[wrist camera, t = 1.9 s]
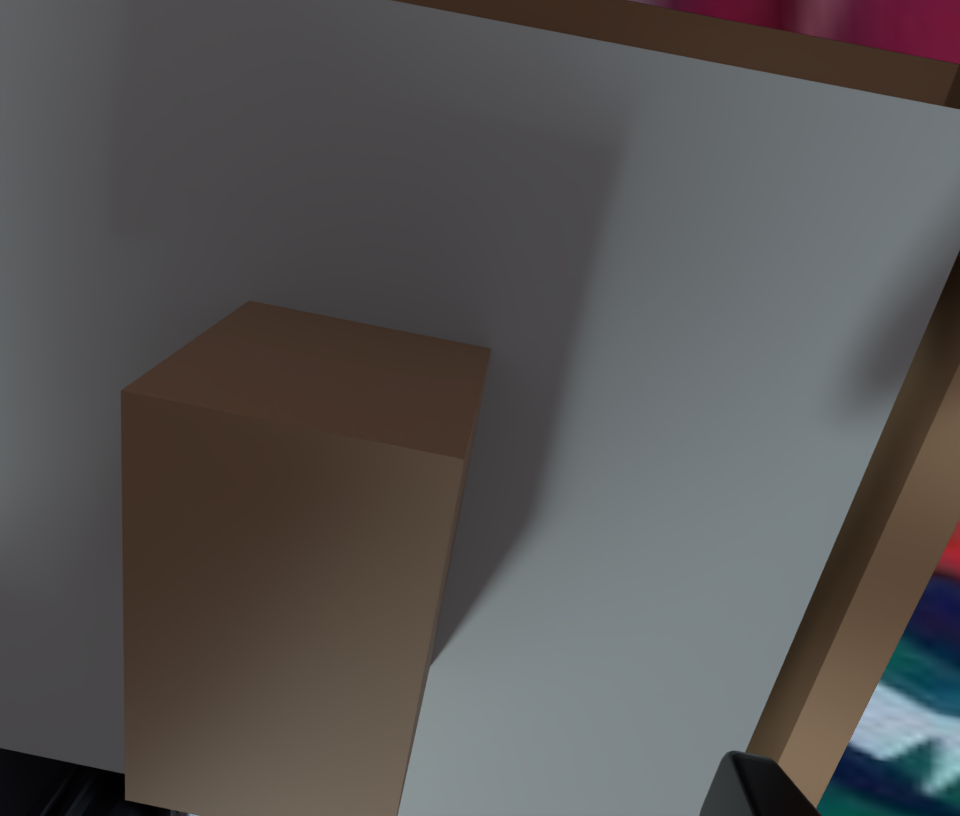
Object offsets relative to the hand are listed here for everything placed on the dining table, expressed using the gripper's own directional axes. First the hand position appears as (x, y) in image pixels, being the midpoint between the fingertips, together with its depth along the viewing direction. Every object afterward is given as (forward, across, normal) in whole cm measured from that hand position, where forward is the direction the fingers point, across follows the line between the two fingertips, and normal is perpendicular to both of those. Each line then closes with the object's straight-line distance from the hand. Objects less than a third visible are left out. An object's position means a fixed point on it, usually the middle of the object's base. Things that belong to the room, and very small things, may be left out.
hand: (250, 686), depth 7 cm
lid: (+4, 0, 0) cm, 4 cm away
